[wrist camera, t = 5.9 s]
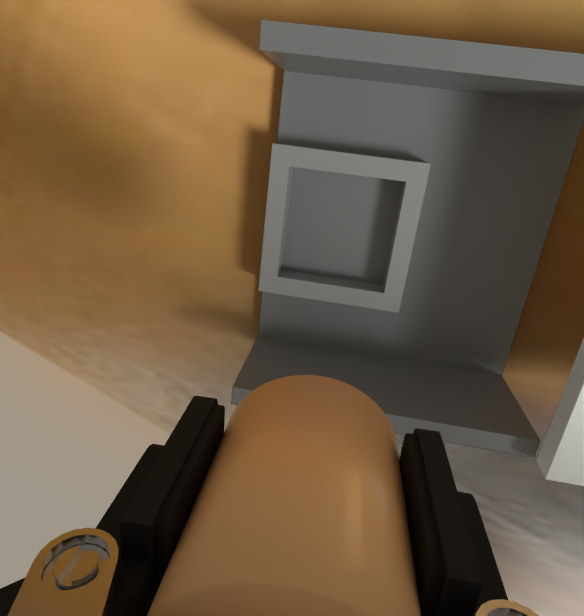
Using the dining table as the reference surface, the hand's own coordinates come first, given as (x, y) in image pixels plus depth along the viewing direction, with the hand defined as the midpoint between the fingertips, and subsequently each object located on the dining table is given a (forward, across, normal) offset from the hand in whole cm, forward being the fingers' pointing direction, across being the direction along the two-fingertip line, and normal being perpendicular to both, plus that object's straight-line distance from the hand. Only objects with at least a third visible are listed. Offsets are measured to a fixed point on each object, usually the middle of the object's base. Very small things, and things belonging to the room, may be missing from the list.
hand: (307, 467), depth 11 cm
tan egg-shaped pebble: (+1, 0, 0) cm, 1 cm away
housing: (+18, -4, -2) cm, 18 cm away
